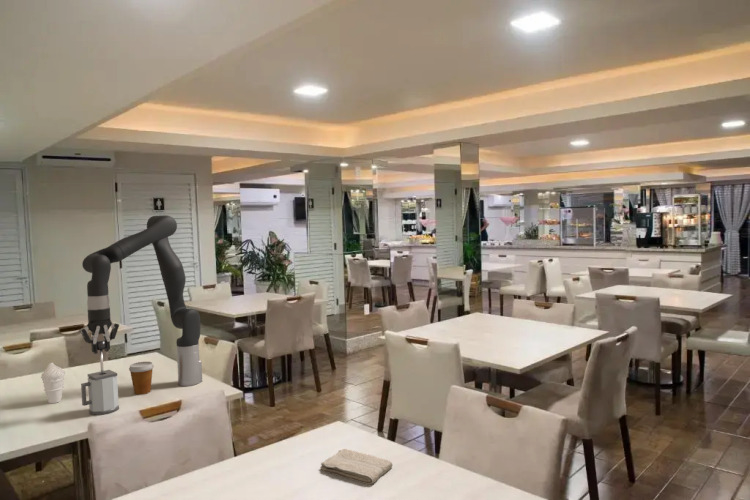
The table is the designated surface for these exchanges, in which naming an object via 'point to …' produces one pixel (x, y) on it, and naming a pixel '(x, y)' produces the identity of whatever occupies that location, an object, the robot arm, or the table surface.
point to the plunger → (101, 352)
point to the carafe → (101, 393)
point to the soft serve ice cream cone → (53, 382)
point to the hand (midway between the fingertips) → (101, 352)
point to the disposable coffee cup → (141, 377)
